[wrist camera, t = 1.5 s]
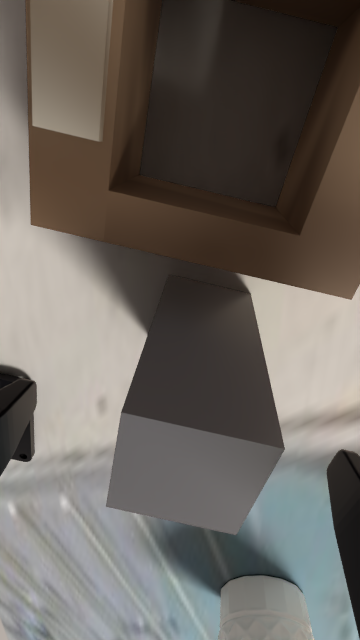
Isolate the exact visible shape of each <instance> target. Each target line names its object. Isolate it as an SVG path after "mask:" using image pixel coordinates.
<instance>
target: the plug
mask: <svg viewBox="0 0 360 640" xmlns="http://www.w3.org/2000/svg"><path fill="white" fill-rule="evenodd" d="M284 450H285V448H284V443H283V439H282V434H281V430H280V425H279V420H278V416H277V411H276V407H275V402H274V398H273V393H272V389H271V384H270V379H269V375H268V370H267V366H266V361H265V357H264V352H263V348H262V343H261V339H260V334H259V329H258V325H257V320H256V316H255V311H254V307H253V302H252V298H251V294H250V293H246V292H241V291H237V290H233V289H229V288H224V287H220V286H216V285H211V284H207V283H203V282H198V281H194V280H190V279H186V278H181V277H177V276H173V275H168V278H167V281H166V284H165V287H164V290H163V293H162V296H161V298H160V301H159V304H158V307H157V310H156V313H155V316H154V319H153V322H152V325H151V327H150V330H149V333H148V336H147V339H146V342H145V345H144V348H143V351H142V354H141V357H140V359H139V362H138V365H137V368H136V371H135V374H134V377H133V380H132V383H131V386H130V388H129V391H128V394H127V397H126V400H125V403H124V406H123V409H122V412H121V417H120V423H119V429H118V436H117V442H116V448H115V454H114V460H113V466H112V473H111V479H110V485H109V491H108V497H107V503H106V507H110V508H115V509H119V510H124V511H128V512H133V513H137V514H142V515H147V516H151V517H156V518H160V519H165V520H169V521H174V522H179V523H183V524H188V525H192V526H197V527H201V528H206V529H210V530H215V531H220V532H224V533H229V534H233V535H237V533H238V531H239V529H240V528H241V526H242V524H243V522H244V521H245V519H246V517H247V515H248V514H249V512H250V510H251V508H252V506H253V505H254V503H255V501H256V499H257V498H258V496H259V494H260V492H261V490H262V489H263V487H264V485H265V483H266V482H267V480H268V478H269V476H270V474H271V473H272V471H273V469H274V467H275V466H276V464H277V462H278V460H279V458H280V457H281V455H282V453H283V451H284Z"/></svg>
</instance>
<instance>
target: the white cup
mask: <svg viewBox="0 0 360 640" xmlns="http://www.w3.org/2000/svg"><path fill="white" fill-rule="evenodd" d="M218 640H314V637H313V635H312V628H311V623H310V619H309V614H308V610H307V605H306V601H305V597H304V594H303V593H302V592H301V591H300V589H299V588H298V587H297V586H296V585H294V584H292V583H290V582H288V581H286V580H283V579H281V578H275V577H270V576H264V575H258V576H243V577H240V578H236V579H233V580H231V581H229V582H228V583H227V584H225V585H224V586H223V587H222V588H221V607H220V631H219V634H218Z"/></svg>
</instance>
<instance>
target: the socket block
mask: <svg viewBox="0 0 360 640" xmlns="http://www.w3.org/2000/svg"><path fill="white" fill-rule="evenodd" d="M231 1H235V2H239V3H243V4H247V5H251V6H255V7H259V8H263V9H267V10H271V11H275V12H279V13H283V14H287V15H291V16H295V17H299V18H303V19H307V20H311V21H315V22H319V23H323V24H327V25H331V26H335V27H338V28H337V31H336V34H335V37H334V40H333V43H332V45H331V48H330V51H329V54H328V57H327V60H326V63H325V66H324V69H323V72H322V74H321V77H320V80H319V83H318V86H317V89H316V92H315V95H314V98H313V101H312V103H311V106H310V109H309V112H308V115H307V118H306V121H305V124H304V127H303V130H302V132H301V135H300V138H299V141H298V144H297V147H296V150H295V153H294V156H293V159H292V161H291V164H290V167H289V170H288V173H287V176H286V179H285V182H284V185H283V188H282V191H281V193H280V196H279V199H278V202H277V205H276V207H272V206H268V205H263V204H259V203H255V202H251V201H247V200H242V199H238V198H234V197H230V196H226V195H221V194H217V193H213V192H209V191H205V190H201V189H196V188H192V187H188V186H184V185H180V184H175V183H171V182H167V181H163V180H159V179H154V178H150V177H146V176H142V175H139V173H140V165H141V158H142V150H143V143H144V135H145V128H146V120H147V113H148V105H149V98H150V90H151V83H152V75H153V68H154V60H155V53H156V45H157V38H158V30H159V23H160V15H161V8H162V0H25V3H26V44H27V86H28V127H29V168H30V210H31V225H34V226H38V227H43V228H47V229H51V230H56V231H60V232H64V233H68V234H73V235H77V236H81V237H86V238H90V239H94V240H98V241H103V242H107V243H111V244H115V245H120V246H124V247H128V248H133V249H137V250H141V251H145V252H150V253H154V254H158V255H163V256H167V257H171V258H175V259H180V260H184V261H188V262H192V263H197V264H201V265H205V266H210V267H214V268H218V269H222V270H227V271H231V272H235V273H240V274H244V275H248V276H252V277H257V278H261V279H265V280H269V281H274V282H278V283H282V284H287V285H291V286H295V287H299V288H304V289H308V290H312V291H317V292H321V293H325V294H329V295H334V296H338V297H342V298H346V299H352V298H353V296H354V294H355V292H356V290H357V288H358V286H359V284H360V0H231Z"/></svg>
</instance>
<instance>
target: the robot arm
mask: <svg viewBox="0 0 360 640" xmlns="http://www.w3.org/2000/svg"><path fill="white" fill-rule="evenodd" d="M36 404H37V386H36V382H35V381H32V380H28V379H24V378H19V377H15V376H10V375H6V374H2V373H0V476H1V474H2V473H3V471H4V469H5V468H6V466H7V465H8V463H9V461H10V459H14V460H19V461H23V462H28V461H30V460H31V459H32V457H33V456H34V453H35V450H34V415H33V412H34V410H35V408H36ZM327 479H328V487H329V495H330V502H331V510H332V518H333V524H334V530H335V535H336V539H337V544H338V548H339V552H340V557H341V561H342V565H343V569H344V574H345V578H346V582H347V587H348V591H349V595H350V600H351V604H352V608H353V613H354V617H355V621H356V626H357V630H358V634H359V638H360V456H359V455H358V454H357V453H355V452H353V451H348V450H344V449H341V450H339V451H338V452H337V454H336V455H335V457H334V458H333V460H332V461H331V463H330V464H329V466H328V468H327Z"/></svg>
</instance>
